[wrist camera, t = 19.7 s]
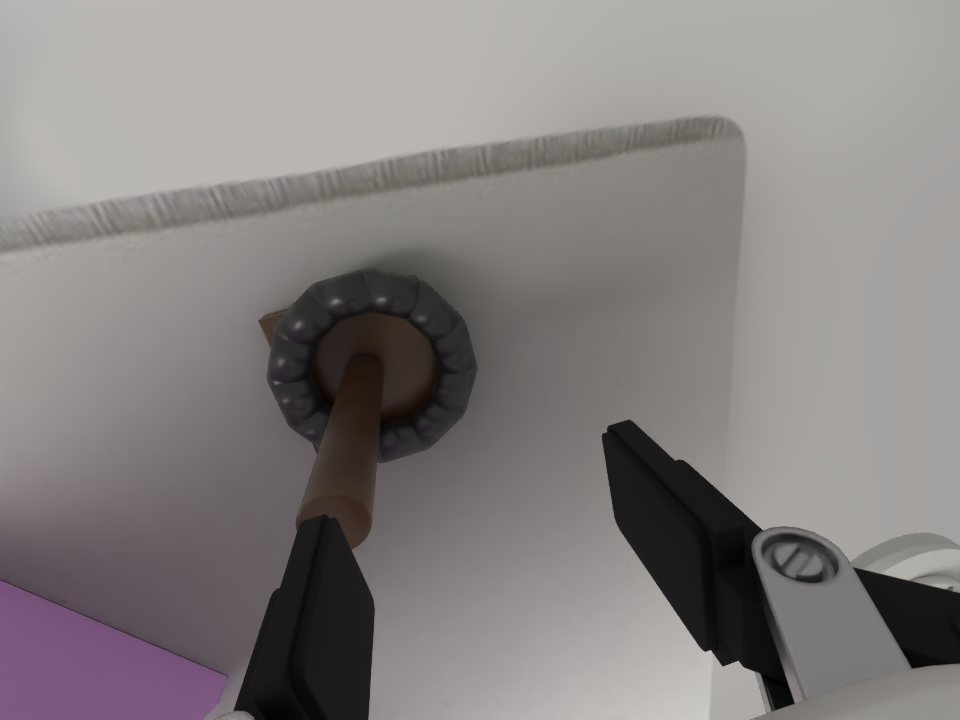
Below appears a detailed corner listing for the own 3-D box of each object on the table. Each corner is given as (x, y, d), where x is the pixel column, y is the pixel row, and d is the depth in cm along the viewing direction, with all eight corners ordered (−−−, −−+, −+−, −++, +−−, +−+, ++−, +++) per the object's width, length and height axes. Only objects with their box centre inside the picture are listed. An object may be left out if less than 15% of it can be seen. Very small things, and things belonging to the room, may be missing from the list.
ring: (442, 244, 22) (446, 248, 20) (490, 417, 25) (497, 434, 24) (240, 301, 21) (225, 310, 19) (319, 471, 25) (312, 492, 23)
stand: (416, 274, 23) (436, 351, 11) (455, 407, 26) (505, 584, 14) (263, 315, 22) (104, 445, 10) (320, 447, 25) (249, 669, 13)
